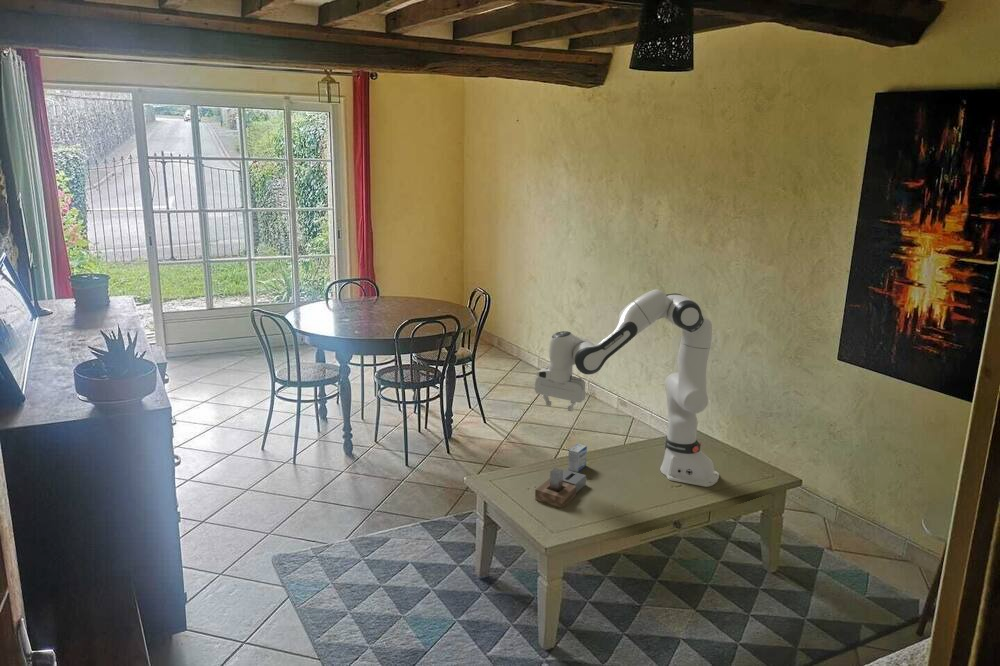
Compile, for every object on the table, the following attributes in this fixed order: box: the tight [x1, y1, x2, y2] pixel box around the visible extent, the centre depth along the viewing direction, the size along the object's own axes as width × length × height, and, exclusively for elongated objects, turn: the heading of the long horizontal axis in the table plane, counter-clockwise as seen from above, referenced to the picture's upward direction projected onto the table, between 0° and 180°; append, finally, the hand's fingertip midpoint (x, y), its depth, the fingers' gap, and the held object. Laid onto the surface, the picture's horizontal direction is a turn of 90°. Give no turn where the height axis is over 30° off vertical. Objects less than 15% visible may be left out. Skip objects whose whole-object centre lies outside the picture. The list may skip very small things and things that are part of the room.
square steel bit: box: [549, 467, 564, 492], centre depth 260 cm, size 3×3×10 cm
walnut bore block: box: [534, 478, 577, 509], centre depth 261 cm, size 11×11×4 cm
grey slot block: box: [562, 468, 587, 494], centre depth 270 cm, size 9×9×4 cm
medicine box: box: [567, 443, 588, 473], centre depth 285 cm, size 8×4×9 cm, turn 148°
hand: (559, 408), depth 272 cm, fingers open, 8 cm apart
